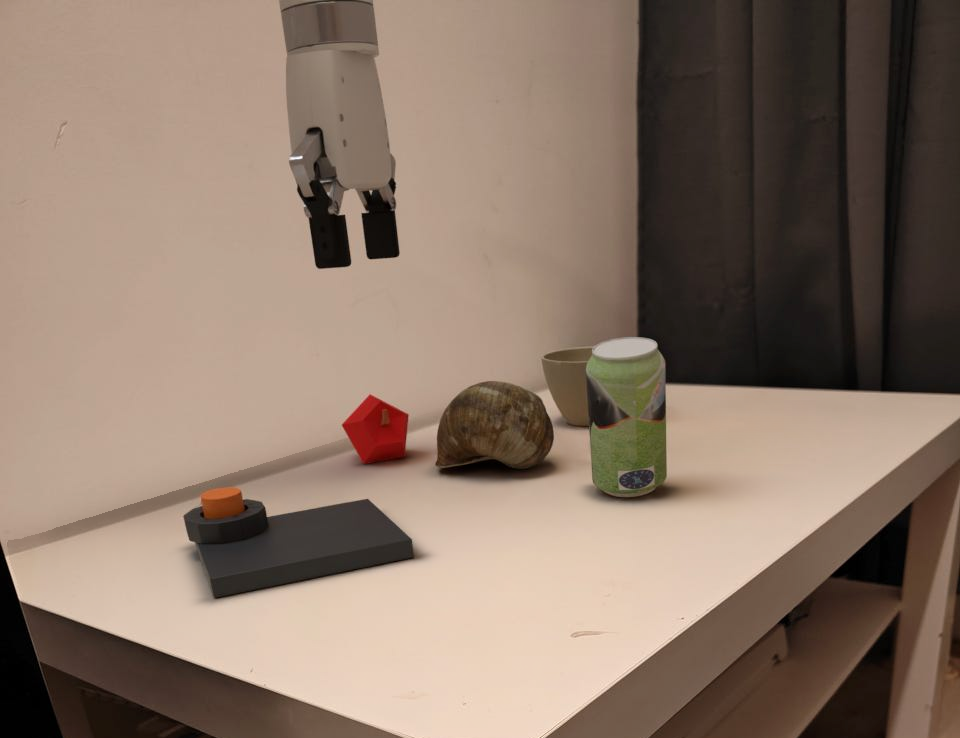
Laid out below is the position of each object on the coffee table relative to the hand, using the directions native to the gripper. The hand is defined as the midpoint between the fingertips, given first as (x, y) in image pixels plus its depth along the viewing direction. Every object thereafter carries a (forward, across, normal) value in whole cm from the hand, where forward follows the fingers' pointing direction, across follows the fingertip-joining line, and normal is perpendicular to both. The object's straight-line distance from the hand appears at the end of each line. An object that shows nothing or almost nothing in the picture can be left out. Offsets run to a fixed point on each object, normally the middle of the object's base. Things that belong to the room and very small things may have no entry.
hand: (359, 262), depth 83 cm
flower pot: (+19, -19, +16) cm, 31 cm away
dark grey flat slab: (+18, +24, +5) cm, 31 cm away
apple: (+19, -2, -2) cm, 19 cm away
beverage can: (+19, +7, +26) cm, 32 cm away
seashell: (+19, +1, +12) cm, 22 cm away
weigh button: (+16, +24, -1) cm, 29 cm away
